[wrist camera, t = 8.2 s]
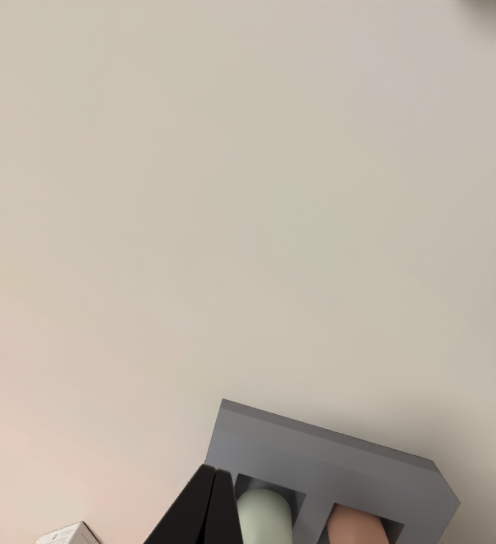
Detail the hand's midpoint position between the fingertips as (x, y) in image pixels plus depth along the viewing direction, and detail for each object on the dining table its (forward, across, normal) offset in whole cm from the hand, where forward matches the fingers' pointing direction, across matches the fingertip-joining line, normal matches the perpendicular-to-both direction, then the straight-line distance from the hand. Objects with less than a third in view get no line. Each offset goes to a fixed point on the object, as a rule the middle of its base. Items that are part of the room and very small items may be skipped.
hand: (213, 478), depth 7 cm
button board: (+12, -8, +17) cm, 22 cm away
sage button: (+9, -5, +13) cm, 16 cm away
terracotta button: (+11, -11, +13) cm, 20 cm away
